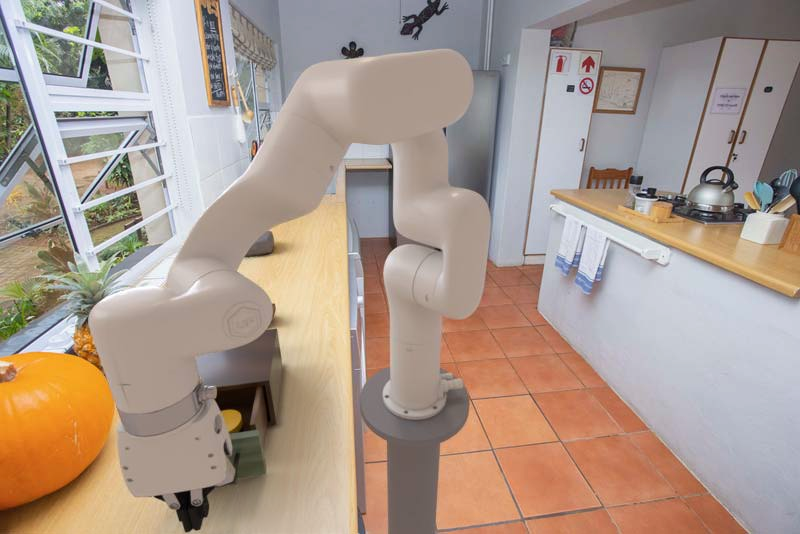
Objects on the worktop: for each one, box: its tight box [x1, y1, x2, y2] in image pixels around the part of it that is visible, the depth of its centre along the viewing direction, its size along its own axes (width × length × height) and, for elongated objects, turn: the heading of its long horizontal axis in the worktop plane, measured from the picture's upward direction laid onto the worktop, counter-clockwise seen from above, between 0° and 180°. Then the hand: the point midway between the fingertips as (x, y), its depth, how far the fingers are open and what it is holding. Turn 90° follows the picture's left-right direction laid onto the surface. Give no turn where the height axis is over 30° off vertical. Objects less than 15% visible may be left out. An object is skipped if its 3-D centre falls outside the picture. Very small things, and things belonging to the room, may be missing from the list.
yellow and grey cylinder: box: [221, 410, 245, 434], centre depth 62 cm, size 5×5×4 cm
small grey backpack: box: [245, 230, 275, 257], centre depth 148 cm, size 15×8×20 cm
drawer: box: [214, 385, 269, 489], centre depth 61 cm, size 20×13×8 cm, turn 12°
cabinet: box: [195, 327, 284, 427], centre depth 73 cm, size 17×14×10 cm
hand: (196, 519), depth 47 cm, fingers closed
